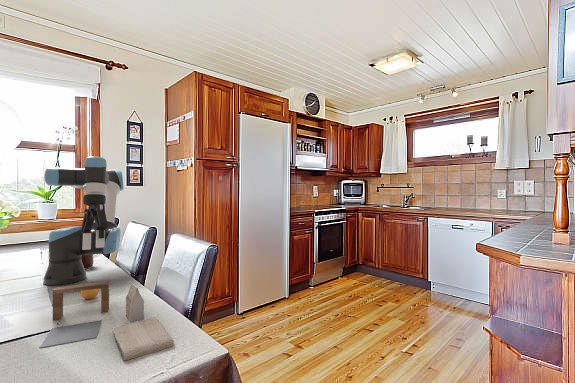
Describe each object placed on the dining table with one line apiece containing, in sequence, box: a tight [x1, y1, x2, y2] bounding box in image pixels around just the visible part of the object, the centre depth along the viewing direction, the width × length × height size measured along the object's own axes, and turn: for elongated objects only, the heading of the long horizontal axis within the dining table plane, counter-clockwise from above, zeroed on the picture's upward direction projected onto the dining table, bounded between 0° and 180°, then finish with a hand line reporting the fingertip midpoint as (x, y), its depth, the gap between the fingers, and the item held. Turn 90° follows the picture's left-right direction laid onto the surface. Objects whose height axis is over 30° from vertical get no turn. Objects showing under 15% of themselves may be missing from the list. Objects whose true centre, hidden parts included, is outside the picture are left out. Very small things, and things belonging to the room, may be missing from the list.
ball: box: [80, 282, 100, 300], centre depth 109 cm, size 6×6×6 cm
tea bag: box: [125, 283, 145, 323], centre depth 93 cm, size 4×7×10 cm, turn 39°
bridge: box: [52, 281, 110, 322], centre depth 95 cm, size 3×14×9 cm, turn 116°
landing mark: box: [39, 319, 102, 349], centre depth 82 cm, size 12×12×1 cm
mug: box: [81, 254, 94, 269], centre depth 153 cm, size 12×9×10 cm
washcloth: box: [112, 317, 175, 361], centre depth 79 cm, size 12×18×3 cm, turn 39°
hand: (93, 248), depth 116 cm, fingers open, 13 cm apart
